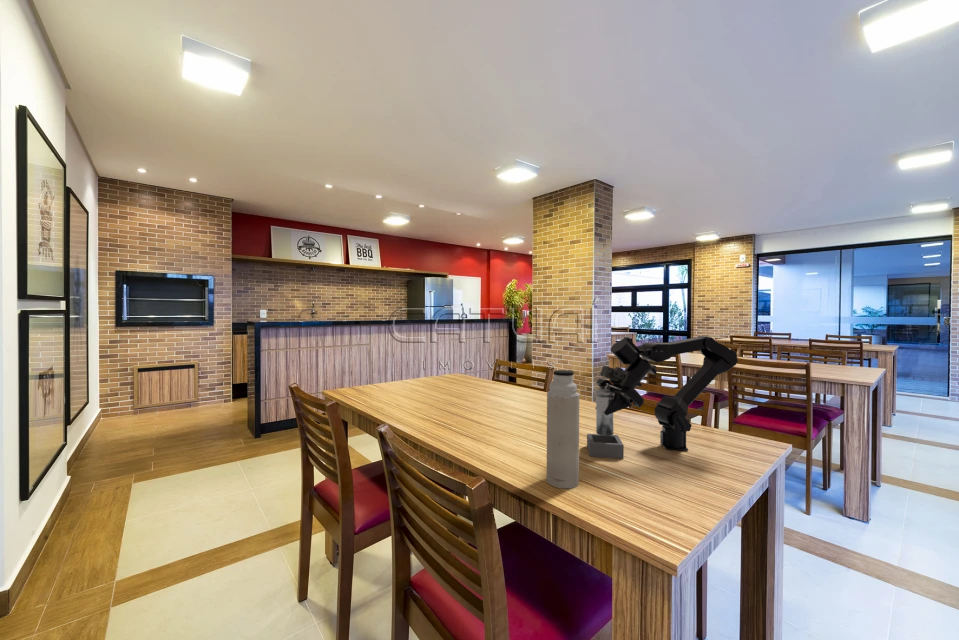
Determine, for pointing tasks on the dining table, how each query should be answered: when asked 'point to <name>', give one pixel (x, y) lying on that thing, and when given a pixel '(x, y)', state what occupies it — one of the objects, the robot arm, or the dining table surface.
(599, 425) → the pipe
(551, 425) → the thermos bottle
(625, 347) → the robot arm
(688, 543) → the dining table surface
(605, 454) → the gray square tray
